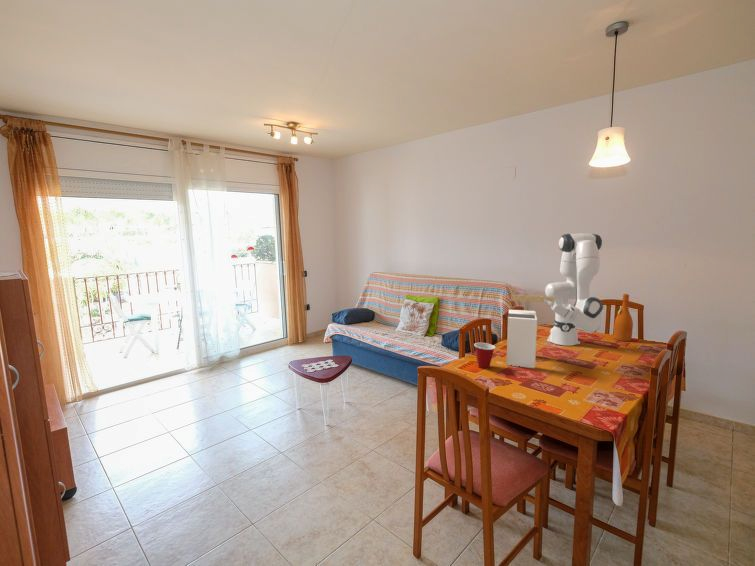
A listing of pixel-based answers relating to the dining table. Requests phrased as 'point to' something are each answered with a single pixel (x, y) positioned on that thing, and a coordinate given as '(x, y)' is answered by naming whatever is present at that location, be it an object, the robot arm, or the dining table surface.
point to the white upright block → (521, 338)
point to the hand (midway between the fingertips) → (543, 298)
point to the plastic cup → (484, 354)
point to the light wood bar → (531, 298)
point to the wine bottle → (623, 322)
